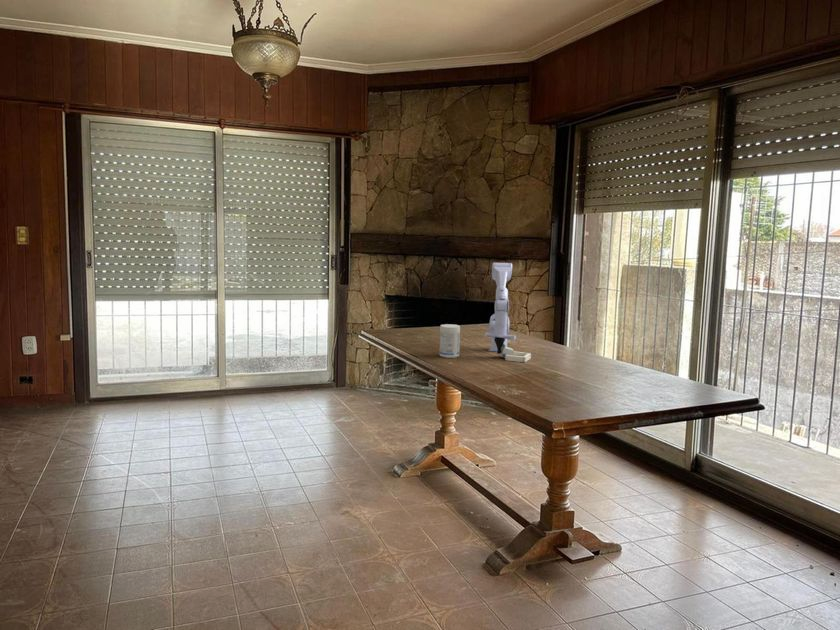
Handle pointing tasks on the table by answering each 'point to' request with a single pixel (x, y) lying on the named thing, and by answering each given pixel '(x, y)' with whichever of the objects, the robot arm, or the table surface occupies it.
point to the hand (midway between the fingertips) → (499, 353)
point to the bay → (518, 357)
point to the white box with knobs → (506, 351)
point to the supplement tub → (449, 340)
